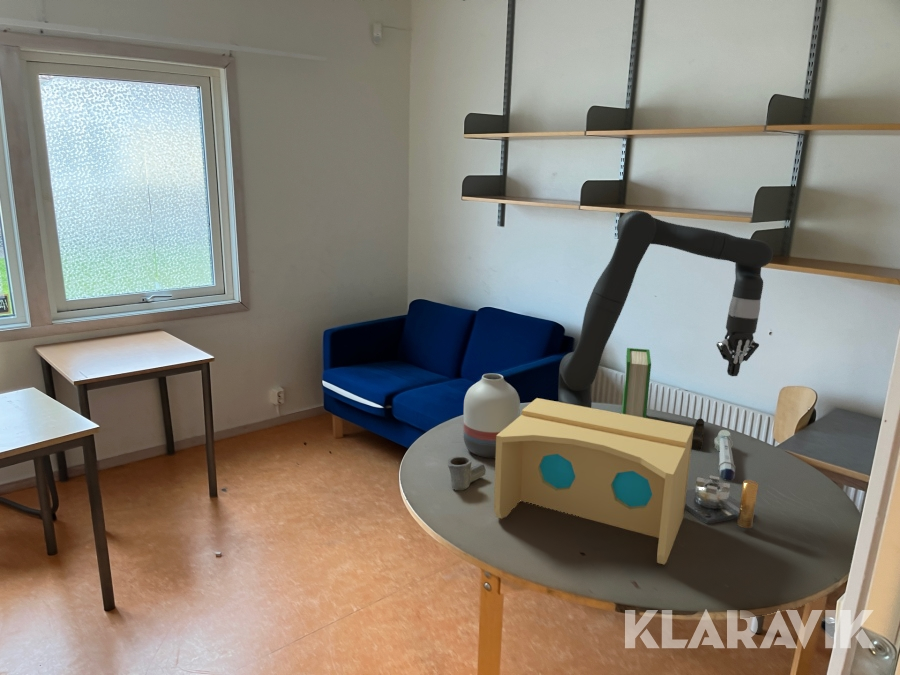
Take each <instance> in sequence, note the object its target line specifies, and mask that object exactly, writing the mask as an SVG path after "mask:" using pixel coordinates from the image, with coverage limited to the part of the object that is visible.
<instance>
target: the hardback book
mask: <svg viewBox="0 0 900 675" xmlns="http://www.w3.org/2000/svg"><path fill="white" fill-rule="evenodd" d="M625 357H626V358H625V367H624V368H625V369H624V370H625V371H624V381H623V393H622V406H621V414H626V415H631V416H637V417H642V418H647V413H648V412H647V411H648V402H649V401H648V400H649V392H650V391H649V390H650V389H649V388H650V380H651V379H650V378H651V371H652V370H651V369H652V361H651V360H652V359H651V352H650V349H647V348H633V347H627V348H626V355H625Z"/></svg>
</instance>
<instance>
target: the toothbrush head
mask: <svg viewBox="0 0 900 675" xmlns="http://www.w3.org/2000/svg"><path fill="white" fill-rule="evenodd" d="M713 442H714V449H715V450H716V451H717V452H719V451H720V452H719V463H718V468H717V469H718V472H719V477H720V478H721V479H722V480H724V479H726V480H725V481H733V480H734V479H735V476H736V465H735V464H734V463H735V462H734V457H733V452H732V447H733V445H734V441H733V440H732V435H731V432H730V431H729V430H726V429H722V430H720V431H718V434H717V436H716V437H714V441H713Z"/></svg>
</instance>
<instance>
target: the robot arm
mask: <svg viewBox="0 0 900 675" xmlns="http://www.w3.org/2000/svg"><path fill="white" fill-rule="evenodd" d="M616 232H617V234H618V239H617V242H616V245H615V248H614V251H613V254H612V256H611V258H610V261H609V262H608V264H607V265H606V267H605V268H604V270H603V271H602V272H601V274H600V276H599V278H598V279H597V281H596V283H595V284H594V287H593V289H592V291H591V293H590V297H589V299H588V301H587V304H586V307H585V310H584V314H583V315H584V316H583V320H582V326H581V332H580V337H579V340H578V342H577V345H576V346H575V349H574V351H572V352H568V353H567V354H565V355H564V356H563V357H562V359H561V360H560V364H559V369H558V370H559V371H558V389H557V390H558V391H557V396H558V402H561V403H566V404H572V405H577V406H583V407H588V408H592V405H593V404H592V395H591V394H592V392H591V388H592V387H591V386H592V384H593V383H594V381H595V379H596V376H597V375H598V374H597V373H598V370H599V366H600V363H601V361H602V356H603V354H604V351H605V347H606V345H607V343H608V341H609V339H610V338H611V335H612V333H613V330H614V328H615V327H616V325H617V322H618V320H619V317H620V316H621V313H622V311H623V308H624V306H625V304H626V302H627V299H628V295H629V294H630V290H631V288H632V286H633V283H634V279H635V276H636V274H637V271H638V268H639V265H640V263H641V262H642V261H643V260H642V259H643V258H644V256H645V254H646V253H647V251H648V249H649V247H650V245H657V246H664V247H669V248H673V249H677V250H679V251H683V252H687V253H689V254H693V255H697V256H701V257H706V258H709V259H715V260H719V261H721V260H722V261H729V262H732V263H734V264H735V269H734V271H735V273H734V274H735V281H734V284H733V290H732V297H731V300H730V303H729V308H728V314H727V319H726V324H725V329H726V334H725V336H724V339H723V340H722V341H718V342H716V347H717V349H718V351H719V353H720V355H721V357H722V359H723V360H726V361H728V364H727V369H726V372H727V375H728V376H730V377H738V375H739V374H740V368H741V364H742V363H743V362H748V360H749V359H750V357H752V356H753V354H754V353H755V352H756V351H757V349H758V348H759V346H760V344H759V343H758V342H755V340H754V334H755V333H756V332H757V326H758V322H759V315H760V311H761V299H762V293H763V289H764V279H763V278H762V275H761V274H762V273H761V272H762V268H763V267H766V266H767V265H769V263H771V261H772V260H773V257H774V250H773V248H772V246H770V244H768V243H767V242H766V241H763V240H759V239H755V238H746V237H738V236H734V235H732V234H729V233H725V232H723V231H722V232H721V231H717V230H714V229H713V230H711V229H707V228H701V227H695V226H688V225H682V224H678V223H677V224H676V223H673V222H672V223H671V222H667V221H664V220H661V219H658V218H656V217H653V216H652V215H651V214H650V213H649V212H646V211H644V210H639V209H638V210H631V211H630V210H629V211H628V212H625V213H624V214H622V216H620V218H619V220H618V222H617V226H616Z"/></svg>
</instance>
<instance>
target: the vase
mask: <svg viewBox="0 0 900 675" xmlns="http://www.w3.org/2000/svg"><path fill="white" fill-rule="evenodd" d="M519 416H521V401H520V396H519V393H518V392H517V390H516V389H515V388H514V387H513V386H512V385H511V384H510V383H508V382H507V381H506V380H505V379H504V376H503V375H502V374H499V373H490V372H489V373H484V374H483V375H482V376H481V379H480V380H479V381H477V382H476V383H474V384H473V385H471V386H470V387H469V388H468V389H467V391H466V393H465V396H464V400H463V425H462V426H463V428H462V429H463V435H462V436H463V441H464V446H465V447H466V449H467V450H468V451H469V452H471V453H472V454H474V455H476V456H479V457H482V458H489V459H490V458H491V459H492V458H493V459H496V435H498V434H499V433H500V432H501V431H502V430H504V429H505V428H506V427H507V426H508V425H510V424H511V423H512V422H513V421H515V420H516V419H517V418H518V417H519Z"/></svg>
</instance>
